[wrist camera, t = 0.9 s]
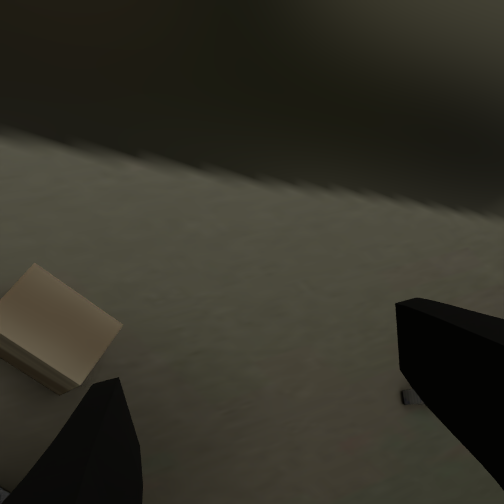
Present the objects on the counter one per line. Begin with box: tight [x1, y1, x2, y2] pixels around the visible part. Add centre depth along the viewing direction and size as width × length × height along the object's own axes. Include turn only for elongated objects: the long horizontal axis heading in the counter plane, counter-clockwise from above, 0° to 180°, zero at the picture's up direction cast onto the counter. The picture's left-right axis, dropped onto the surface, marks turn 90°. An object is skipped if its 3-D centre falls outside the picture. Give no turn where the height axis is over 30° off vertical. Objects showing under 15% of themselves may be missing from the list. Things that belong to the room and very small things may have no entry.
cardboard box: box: [0, 263, 123, 396], centre depth 22 cm, size 3×4×6 cm, turn 60°
